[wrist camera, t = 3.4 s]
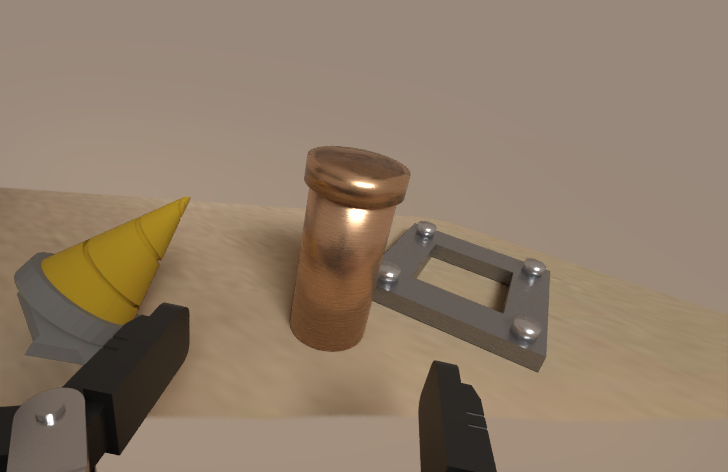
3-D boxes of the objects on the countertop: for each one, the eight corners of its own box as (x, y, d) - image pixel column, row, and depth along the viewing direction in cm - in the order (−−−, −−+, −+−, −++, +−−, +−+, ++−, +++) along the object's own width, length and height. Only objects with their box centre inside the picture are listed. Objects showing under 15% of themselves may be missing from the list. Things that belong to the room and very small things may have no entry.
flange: (356, 293, 27) (362, 268, 26) (411, 234, 37) (417, 215, 36) (538, 372, 23) (551, 346, 23) (544, 283, 34) (553, 263, 33)
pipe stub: (266, 329, 22) (286, 156, 18) (313, 289, 26) (338, 141, 22) (345, 369, 21) (388, 191, 16) (381, 319, 25) (423, 167, 21)
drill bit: (26, 313, 21) (171, 177, 23) (100, 384, 20) (240, 241, 22) (-76, 316, 15) (123, 139, 17) (21, 411, 15) (213, 220, 17)
